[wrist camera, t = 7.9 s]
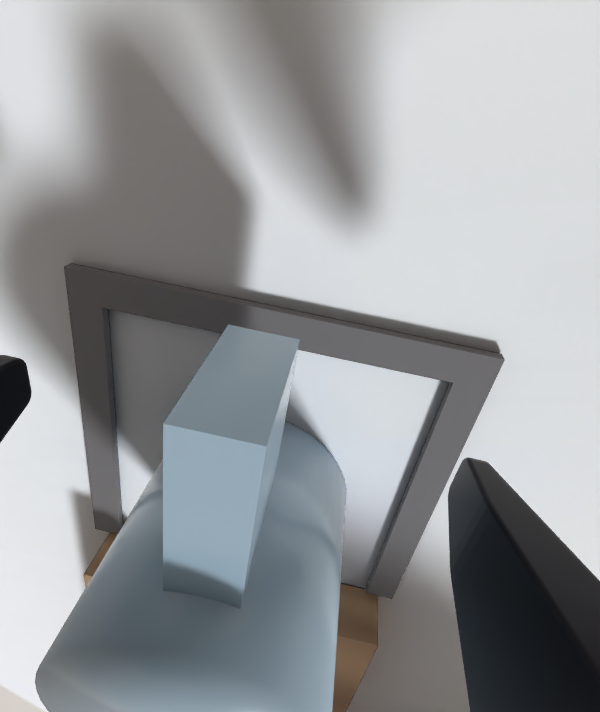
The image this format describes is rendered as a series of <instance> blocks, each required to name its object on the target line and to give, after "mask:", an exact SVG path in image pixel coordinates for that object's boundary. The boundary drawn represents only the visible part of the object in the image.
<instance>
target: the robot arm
mask: <svg viewBox="0 0 600 712" xmlns="http://www.w3.org/2000/svg"><path fill="white" fill-rule="evenodd" d="M30 398H31V387H30V381H29V376H28V370H27V366H26V363H25V362H24V360H22V359H20V358H16V357H11V356H7V355H0V442H1V441H2V440H3V438H4V437H5V435H6V434H7V433H8V431H9V430H10V428H11V427H12V426H13V424H14V423H15V421H16V420H17V419H18V417H19V416H20V414H21V413H22V412H23V410H24V409H25V407H26V406H27V405H28V403H29V401H30ZM448 513H449V546H450V570H451V580H452V588H453V594H454V601H455V608H456V615H457V622H458V629H459V636H460V643H461V650H462V656H463V663H464V670H465V677H466V684H467V691H468V698H469V705H470V712H600V581H599V580H598V579H597V578H596V577H595V576H594V575H593V573H592V572H591V571H590V570H589V569H588V568H587V567H586V566H585V565H584V564H583V563H582V562H581V561H580V560H579V559H578V558H577V556H576V555H575V554H574V553H573V552H572V551H571V550H570V549H569V548H568V547H567V546H566V545H565V544H564V543H563V542H562V541H561V540H560V538H559V537H558V536H557V535H556V534H555V533H554V532H553V531H552V530H551V529H550V528H549V527H548V526H547V525H546V524H545V523H544V521H543V520H542V519H541V518H540V517H539V516H538V515H537V514H536V513H535V512H534V511H533V510H532V509H531V508H530V507H529V506H528V505H527V503H526V502H525V501H524V500H523V499H522V498H521V497H520V496H519V495H518V494H517V493H516V492H515V491H514V490H513V489H512V488H511V486H510V485H509V484H508V483H507V482H506V481H505V480H504V479H503V478H502V477H501V476H500V475H499V474H498V473H497V472H496V471H495V470H494V468H493V467H492V466H491V465H490V464H489V463H487V462H485V461H482V460H477V459H473V458H465V459H464V460H463V461H462V463H461V465H460V467H459V469H458V471H457V473H456V475H455V477H454V479H453V481H452V483H451V486H450V489H449V493H448Z"/></svg>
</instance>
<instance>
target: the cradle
mask: <svg viewBox="0 0 600 712" xmlns="http://www.w3.org/2000/svg"><path fill="white" fill-rule="evenodd" d="M117 535H118V534H115V533H111V532H110V533H109V534H108V536H107V538H106V539H105V541H104V543H103V544H102V546H101V547H100V549H99V551H98V552H97V554H96V556H95V557H94V559H93V560H92V562H91V564H90V565H89V567H88V568H87V570H86V572H85V573H84V579H85V586H86V587H87V585H88V583H89V582H90V580H91V578H92V577H93V575H94V573H95V572H96V570H97V568H98V567H99V565H100V563H101V562H102V560H103V558H104V557H105V555H106V553H107V552H108V550H109V548H110V547H111V545H112V543H113V542H114V540H115V538H116V536H117ZM366 592H367V590H366V589H362V588H358V587H353V586H349V585H345V584H340V600H339V615H338V631H337V646H336V661H335V677H334V692H333V707H332V712H346V710H347V708H348V706H349V704H350V702H351V700H352V698H353V696H354V694H355V692H356V690H357V687H358V685H359V683H360V681H361V679H362V677H363V675H364V673H365V671H366V669H367V667H368V665H369V663H370V661H371V659H372V657H373V655H374V653H375V651H376V649H377V647H378V595H373V594H369V593H366Z"/></svg>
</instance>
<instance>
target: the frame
mask: <svg viewBox="0 0 600 712" xmlns="http://www.w3.org/2000/svg"><path fill="white" fill-rule="evenodd" d="M64 269H65V277H66V286H67V294H68V302H69V311H70V319H71V328H72V336H73V345H74V353H75V361H76V370H77V378H78V387H79V395H80V403H81V412H82V420H83V429H84V437H85V446H86V454H87V462H88V471H89V479H90V488H91V496H92V504H93V513H94V521H95V529H99V530H103V531H107V532H111V533H115V534H118V533H119V531H120V530H121V528H122V526H123V519H122V505H121V490H120V476H119V461H118V447H117V432H116V418H115V403H114V389H113V374H112V360H111V345H110V331H109V316H108V309H111V310H116V311H120V312H125V313H130V314H134V315H139V316H144V317H148V318H153V319H158V320H162V321H167V322H172V323H176V324H181V325H186V326H190V327H195V328H200V329H204V330H209V331H214V332H218V333H223V332H224V330H225V329H226V327H227V326H228V325H233V326H238V327H242V328H247V329H252V330H257V331H261V332H266V333H271V334H276V335H280V336H285V337H290V338H295V339H300V341H299V346H298V350H302V351H307V352H312V353H316V354H321V355H326V356H330V357H335V358H340V359H344V360H349V361H354V362H358V363H363V364H368V365H372V366H377V367H382V368H386V369H391V370H396V371H400V372H405V373H410V374H414V375H419V376H424V377H428V378H433V379H438V380H442V381H447V382H450V383H449V385H448V387H447V390H446V392H445V395H444V397H443V400H442V402H441V405H440V407H439V410H438V412H437V414H436V417H435V419H434V422H433V424H432V427H431V429H430V432H429V434H428V436H427V439H426V441H425V444H424V446H423V449H422V451H421V454H420V456H419V458H418V461H417V463H416V466H415V468H414V471H413V473H412V476H411V478H410V481H409V483H408V485H407V488H406V490H405V493H404V495H403V498H402V500H401V503H400V505H399V507H398V510H397V512H396V515H395V517H394V520H393V522H392V525H391V527H390V529H389V532H388V534H387V537H386V539H385V542H384V544H383V547H382V549H381V552H380V554H379V556H378V559H377V561H376V564H375V566H374V569H373V571H372V574H371V576H370V578H369V581H368V583H367V592H366V593H369V594H373V595H378V596H382V597H386V598H390V599H392V598H393V595H394V593H395V591H396V589H397V587H398V585H399V583H400V581H401V578H402V576H403V574H404V572H405V570H406V568H407V566H408V564H409V561H410V559H411V557H412V555H413V553H414V551H415V549H416V547H417V545H418V542H419V540H420V538H421V536H422V534H423V532H424V530H425V528H426V525H427V523H428V521H429V519H430V517H431V515H432V513H433V511H434V508H435V506H436V504H437V502H438V500H439V498H440V496H441V494H442V491H443V489H444V487H445V485H446V483H447V481H448V479H449V477H450V474H451V472H452V470H453V468H454V466H455V464H456V462H457V460H458V458H459V455H460V453H461V451H462V449H463V447H464V445H465V443H466V441H467V438H468V436H469V434H470V432H471V430H472V428H473V426H474V424H475V421H476V419H477V417H478V415H479V413H480V411H481V409H482V407H483V404H484V402H485V400H486V398H487V396H488V394H489V392H490V390H491V388H492V385H493V383H494V381H495V379H496V377H497V375H498V373H499V371H500V368H501V366H502V364H503V362H504V358H503V356H502V354H499V353H494V352H489V351H485V350H480V349H475V348H470V347H466V346H461V345H456V344H451V343H447V342H442V341H437V340H432V339H428V338H423V337H418V336H413V335H409V334H404V333H399V332H394V331H390V330H385V329H380V328H375V327H371V326H366V325H361V324H356V323H352V322H347V321H342V320H337V319H333V318H328V317H323V316H318V315H314V314H309V313H304V312H299V311H295V310H290V309H285V308H280V307H276V306H271V305H266V304H261V303H257V302H252V301H247V300H242V299H238V298H233V297H228V296H223V295H219V294H214V293H209V292H204V291H200V290H195V289H190V288H185V287H181V286H176V285H171V284H166V283H162V282H157V281H152V280H147V279H143V278H138V277H133V276H128V275H124V274H119V273H114V272H109V271H105V270H100V269H95V268H90V267H86V266H81V265H76V264H69V265H67V266H65V267H64Z"/></svg>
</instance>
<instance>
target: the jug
mask: <svg viewBox="0 0 600 712" xmlns="http://www.w3.org/2000/svg"><path fill="white" fill-rule="evenodd" d="M299 341H300V339H295V338H290V337H285V336H280V335H276V334H271V333H266V332H261V331H257V330H252V329H247V328H242V327H238V326H233V325H228V326H227V327H226V329H225V330H224V332H223V334H222V335H221V337H220V338H219V340H218V341H217V343H216V344H215V346H214V347H213V349H212V350H211V352H210V353H209V355H208V356H207V358H206V359H205V361H204V362H203V364H202V365H201V367H200V368H199V370H198V371H197V373H196V374H195V376H194V377H193V379H192V380H191V382H190V383H189V385H188V386H187V388H186V389H185V391H184V392H183V394H182V395H181V397H180V399H179V400H178V402H177V403H176V405H175V406H174V408H173V409H172V411H171V412H170V414H169V415H168V417H167V418H166V420H165V421H164V423H163V459H162V461H161V463H160V464H159V466H158V468H157V469H156V471H155V473H154V474H153V476H152V478H151V479H150V481H149V483H148V484H147V486H146V488H145V489H144V491H143V493H142V494H141V496H140V498H139V500H138V501H137V503H136V505H135V506H134V508H133V510H132V511H131V513H130V515H129V516H128V518H127V520H126V521H125V523H124V525H123V526H122V528H121V530H120V531H119V533H118V535H117V536H116V538H115V540H114V542H113V543H112V545H111V547H110V548H109V550H108V552H107V553H106V555H105V557H104V558H103V560H102V562H101V563H100V565H99V567H98V568H97V570H96V572H95V573H94V575H93V577H92V578H91V580H90V582H89V583H88V585H87V587H86V589H85V590H84V592H83V594H82V595H81V597H80V599H79V600H78V602H77V604H76V605H75V607H74V609H73V610H72V612H71V614H70V615H69V617H68V619H67V620H66V622H65V624H64V625H63V627H62V629H61V630H60V632H59V634H58V636H57V637H56V639H55V641H54V642H53V644H52V646H51V647H50V649H49V651H48V652H47V654H46V656H45V657H44V659H43V661H42V662H41V664H40V666H39V668H38V670H37V673H36V679H35V684H36V689H37V693H38V695H39V697H40V699H41V701H42V703H43V704H44V706H45V707H46V709H47V710H48V711H49V712H332V707H333V692H334V677H335V661H336V646H337V631H338V615H339V600H340V584H341V569H342V554H343V538H344V523H345V508H346V485H345V479H344V477H343V474H342V471H341V469H340V467H339V465H338V463H337V461H336V460H335V459H334V457H333V456H332V454H331V453H330V452H329V451H328V450H327V449H326V448H325V447H324V446H323V445H322V444H321V443H320V442H319V441H318V440H316V439H315V438H314V437H313V436H311V435H310V434H308V433H307V432H305V431H304V430H302V429H300V428H298V427H296V426H295V425H293V424H291V423H288V422H286V421H285V418H286V412H287V407H288V401H289V396H290V390H291V385H292V379H293V374H294V368H295V363H296V357H297V352H298V346H299Z"/></svg>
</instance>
